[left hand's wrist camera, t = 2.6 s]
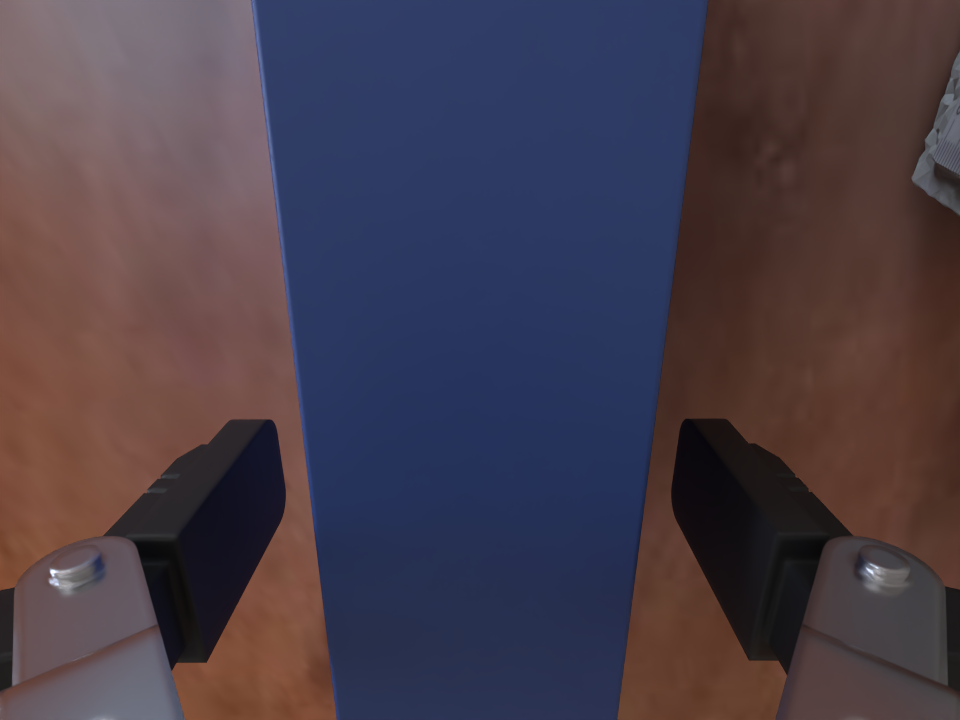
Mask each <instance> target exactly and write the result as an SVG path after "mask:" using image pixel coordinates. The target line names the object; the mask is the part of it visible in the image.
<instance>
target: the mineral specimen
mask: <svg viewBox="0 0 960 720" xmlns="http://www.w3.org/2000/svg"><path fill="white" fill-rule="evenodd" d="M911 179H912V181H913V184H914V186H916V187H919V188H921V189H923V190H924V191H925V192H926V193H927V194H928V195H929V196H931V197H932V198H934V199H935V200H937V201H939V202H940V203H941V204H942V205H943V206H944V207H947V208H949V209H951V210H953V211H954V212H955V213H956V214H957V215H958V216H959V217H960V51H959V53H958V55H957V57H956V59H955V61H954V64H953V67H952V71H951V78H950V80H949V82H948V85H947V88H946V92H945V95H944V97H943V98H942V100H941V102H940V105H939V109H938V112H937V116H936V119H935V122H934V127H933V129H932V131H931V132H930V133H929V135H928V136H927V138H926V139H925V151H924V152H923V154H922V155H921V157H920V158H919V160H918V163H917V166H916V169H915V172H914V174H913V176H912V178H911Z"/></svg>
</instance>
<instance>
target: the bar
mask: <svg viewBox="0 0 960 720" xmlns="http://www.w3.org/2000/svg"><path fill="white" fill-rule="evenodd" d="M251 2H252V11H253V19H254V27H255V36H256V44H257V53H258V61H259V69H260V78H261V86H262V95H263V103H264V111H265V120H266V128H267V137H268V145H269V153H270V162H271V170H272V179H273V187H274V196H275V204H276V212H277V221H278V229H279V238H280V246H281V254H282V263H283V271H284V280H285V288H286V296H287V305H288V313H289V322H290V330H291V338H292V347H293V355H294V364H295V372H296V380H297V389H298V397H299V406H300V414H301V423H302V431H303V439H304V448H305V456H306V465H307V473H308V481H309V490H310V498H311V507H312V515H313V523H314V532H315V540H316V549H317V557H318V565H319V574H320V582H321V591H322V599H323V607H324V616H325V624H326V633H327V641H328V650H329V658H330V666H331V675H332V683H333V692H334V700H335V708H336V717H337V720H617V717H618V709H619V701H620V693H621V685H622V677H623V669H624V661H625V654H626V646H627V638H628V630H629V622H630V614H631V606H632V598H633V591H634V583H635V575H636V567H637V559H638V551H639V543H640V535H641V528H642V520H643V512H644V504H645V496H646V488H647V480H648V472H649V464H650V457H651V449H652V441H653V433H654V425H655V417H656V409H657V401H658V394H659V386H660V378H661V370H662V362H663V354H664V346H665V338H666V331H667V323H668V315H669V307H670V299H671V291H672V283H673V275H674V268H675V260H676V252H677V244H678V236H679V228H680V220H681V212H682V205H683V197H684V189H685V181H686V173H687V165H688V157H689V149H690V142H691V134H692V126H693V118H694V110H695V102H696V94H697V86H698V79H699V71H700V63H701V55H702V47H703V39H704V31H705V23H706V16H707V8H708V0H251Z"/></svg>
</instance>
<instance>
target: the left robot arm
mask: <svg viewBox="0 0 960 720" xmlns="http://www.w3.org/2000/svg"><path fill="white" fill-rule="evenodd" d="M671 499H672V507H673V512H674V515H675V518H676V521H677V523H678V524H679V526H680V528H681V530H682V532H683V534H684V536H685V538H686V540H687V542H688V544H689V546H690V548H691V550H692V551H693V553H694V555H695V557H696V559H697V561H698V563H699V565H700V567H701V569H702V571H703V573H704V575H705V577H706V578H707V580H708V582H709V584H710V586H711V588H712V590H713V592H714V594H715V596H716V598H717V600H718V602H719V603H720V605H721V607H722V609H723V611H724V613H725V615H726V617H727V619H728V621H729V623H730V625H731V627H732V629H733V630H734V632H735V634H736V636H737V638H738V640H739V642H740V644H741V646H742V648H743V650H744V652H745V654H746V656H747V657H748V659H749V660H779V662H780V664H781V665H782V667H783V669H784V671H785V672H786V674H787V679H786V683H785V686H784V690H783V693H782V697H781V701H780V704H779V708H778V711H777V715H776V719H775V720H960V590H959V589H954V588H949V587H945V586H944V584H943V582H942V580H941V579H940V577H939V576H938V575H937V574H936V573H935V572H934V571H933V570H932V569H931V568H930V567H929V566H928V565H927V564H925V563H924V562H923V561H921V560H920V559H918V558H917V557H915V556H914V555H912V554H910V553H908V552H906V551H905V550H902V549H900V548H898V547H896V546H893V545H891V544H888V543H885V542H882V541H879V540H875V539H871V538H866V537H859V536H853V535H852V534H851V533H850V532H849V531H848V530H847V529H846V528H845V527H844V525H843V524H842V523H841V522H840V521H839V520H838V519H837V518H836V517H835V516H834V515H833V514H832V513H831V512H830V511H829V510H828V509H827V508H826V506H825V505H824V504H823V503H822V502H821V501H820V500H819V499H818V498H817V497H816V496H815V495H814V494H813V493H812V492H809V491H808V487H807V486H806V485H805V484H804V483H803V482H802V481H801V480H800V479H799V478H795V474H794V473H793V472H792V471H791V470H790V469H789V467H788V466H787V465H786V464H785V463H784V462H783V461H782V460H781V459H780V458H779V457H777V456H775V455H774V454H772V453H770V452H769V451H767V450H765V449H763V448H762V447H760V446H758V445H757V444H749V443H748V442H747V441H746V440H745V439H744V438H743V437H742V436H741V434H740V433H739V432H738V431H737V430H736V429H735V428H734V427H733V425H732V424H731V423H730V422H729V421H728V420H726V419H685V420H684V421H683V423H682V425H681V428H680V433H679V439H678V446H677V453H676V460H675V467H674V474H673V481H672V489H671ZM285 500H286V489H285V482H284V475H283V468H282V461H281V454H280V448H279V441H278V434H277V429H276V426H275V424H274V422H273V421H272V420H230V421H229V422H228V423H227V424H226V425H225V426H224V427H223V428H222V429H221V430H220V431H219V433H218V434H217V435H216V436H215V437H214V438H213V439H212V440H211V441H210V443H209V444H208V445H200V446H198V447H196V448H195V449H193V450H191V451H190V452H188V453H186V454H184V455H183V456H181V457H179V458H178V459H176V460H175V461H174V462H173V463H172V465H171V466H170V467H169V468H168V469H167V470H166V471H165V472H164V473H163V474H162V475H161V479H157V480H156V481H155V482H154V483H153V484H152V485H151V486H150V488H149V489H148V491H147V493H144V494H143V495H142V496H141V497H140V498H139V499H138V500H137V501H136V502H135V503H134V504H133V505H132V506H131V507H130V508H129V509H128V511H127V512H126V513H125V514H124V515H123V516H122V517H121V518H120V519H119V520H118V521H117V522H116V523H115V524H114V525H113V526H112V527H111V528H110V529H109V530H108V531H107V532H106V534H105V535H104V536H101V537H94V538H89V539H85V540H81V541H78V542H75V543H72V544H69V545H67V546H64V547H62V548H60V549H58V550H55V551H54V552H52V553H50V554H48V555H46V556H45V557H43V558H42V559H40V560H39V561H37V562H36V563H35V564H33V565H32V566H31V567H30V568H29V569H28V570H27V571H26V572H25V573H24V574H23V575H22V576H21V577H20V579H19V580H18V582H17V584H16V586H15V587H14V588H10V589H5V590H1V591H0V720H185V719H184V715H183V711H182V708H181V704H180V701H179V697H178V693H177V690H176V686H175V683H174V679H173V675H172V672H171V671H172V670H173V668H174V666H175V664H176V663H207V661H208V659H209V657H210V655H211V653H212V651H213V649H214V647H215V645H216V644H217V642H218V640H219V638H220V636H221V634H222V632H223V630H224V628H225V626H226V624H227V623H228V621H229V619H230V617H231V615H232V613H233V611H234V609H235V607H236V605H237V604H238V602H239V600H240V598H241V596H242V594H243V592H244V590H245V588H246V586H247V585H248V583H249V581H250V579H251V577H252V575H253V573H254V571H255V569H256V567H257V565H258V564H259V562H260V560H261V558H262V556H263V554H264V552H265V550H266V548H267V546H268V545H269V543H270V541H271V539H272V537H273V535H274V533H275V531H276V529H277V527H278V526H279V524H280V522H281V519H282V517H283V513H284V508H285Z"/></svg>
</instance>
